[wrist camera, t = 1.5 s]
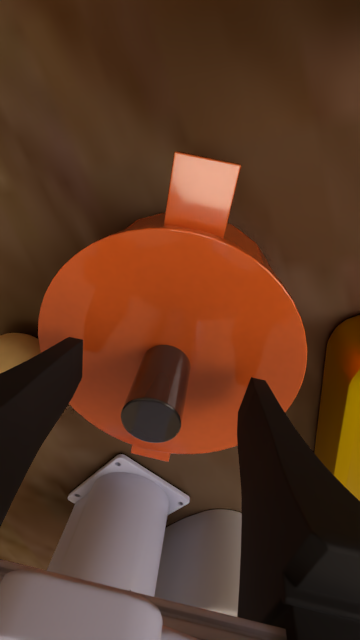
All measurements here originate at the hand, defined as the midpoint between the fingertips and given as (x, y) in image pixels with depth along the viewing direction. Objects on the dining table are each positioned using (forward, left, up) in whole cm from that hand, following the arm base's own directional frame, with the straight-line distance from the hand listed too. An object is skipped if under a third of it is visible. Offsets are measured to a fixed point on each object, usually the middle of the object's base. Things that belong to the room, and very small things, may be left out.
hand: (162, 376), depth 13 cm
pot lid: (0, 0, -1) cm, 1 cm away
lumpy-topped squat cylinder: (-19, -20, -7) cm, 28 cm away
